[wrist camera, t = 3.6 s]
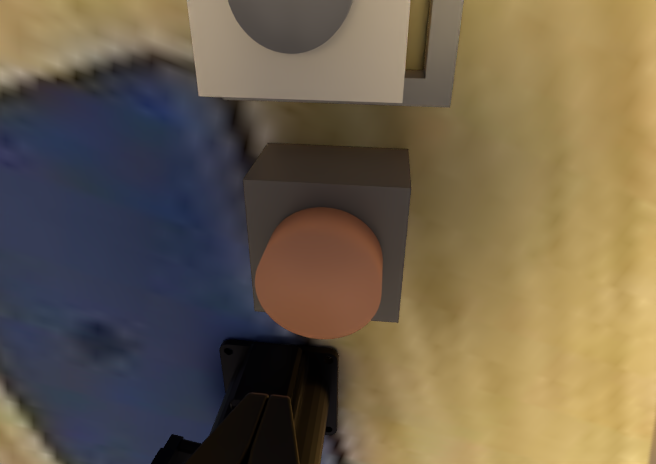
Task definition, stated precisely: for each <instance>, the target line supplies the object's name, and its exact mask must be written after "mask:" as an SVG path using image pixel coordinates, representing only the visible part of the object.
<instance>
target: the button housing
mask: <svg viewBox="0 0 656 464" xmlns="http://www.w3.org/2000/svg"><path fill="white" fill-rule="evenodd" d="M243 186H244V197H245V208H246V219H247V231H248V242H249V253H250V264H251V275H252V286H253V298H254V309H255V311H258V312H265V310H264V309H263V307H262V306H261V304H260V302H259V300H258V297H257V294H256V289H255V275H256V270H257V267H258V265H259V262H260V260H261V258H262V256H263V253H264V251H265V249H266V247H267V244H268V242H269V240H270V238H271V236H272V234H273V232H274V230H275V229H276V227H277V226H278V225H279V224H280V223H281V222H282V221H283V220H284V219H285V218H287V217H288V216H290V215H292V214H293V213H295V212H298V211H300V210H304V209H308V208H315V207H327V208H334V209H338V210H342V211H345V212H347V213H349V214H351V215H353V216H355V217H357V218H358V219H360V220H361V221H363V222H364V223H365V224H366V225H367V226H368V227H369V228H370V229H371V230H372V231H373V233H374V234H375V236H376V237H377V239H378V241H379V243H380V246H381V250H382V255H383V270H382V295H381V302H380V305H379V308H378V310H377V312H376V314H375V315H374V317H373V318H372V319H371V321H383V322H396V323H398V320H399V310H400V299H401V289H402V278H403V268H404V257H405V247H406V237H407V226H408V216H409V205H410V195H411V180H410V165H409V151H408V149H392V148H369V147H346V146H323V145H300V144H277V143H268V144H267V145H266V147H265V148H264V150H263V151H262V153H261V154H260V155H259V157H258V158H257V160H256V161H255V163H254V164H253V166H252V167H251V169H250V170H249V171H248V173H247V174H246V176H245V177H244V179H243Z"/></svg>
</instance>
